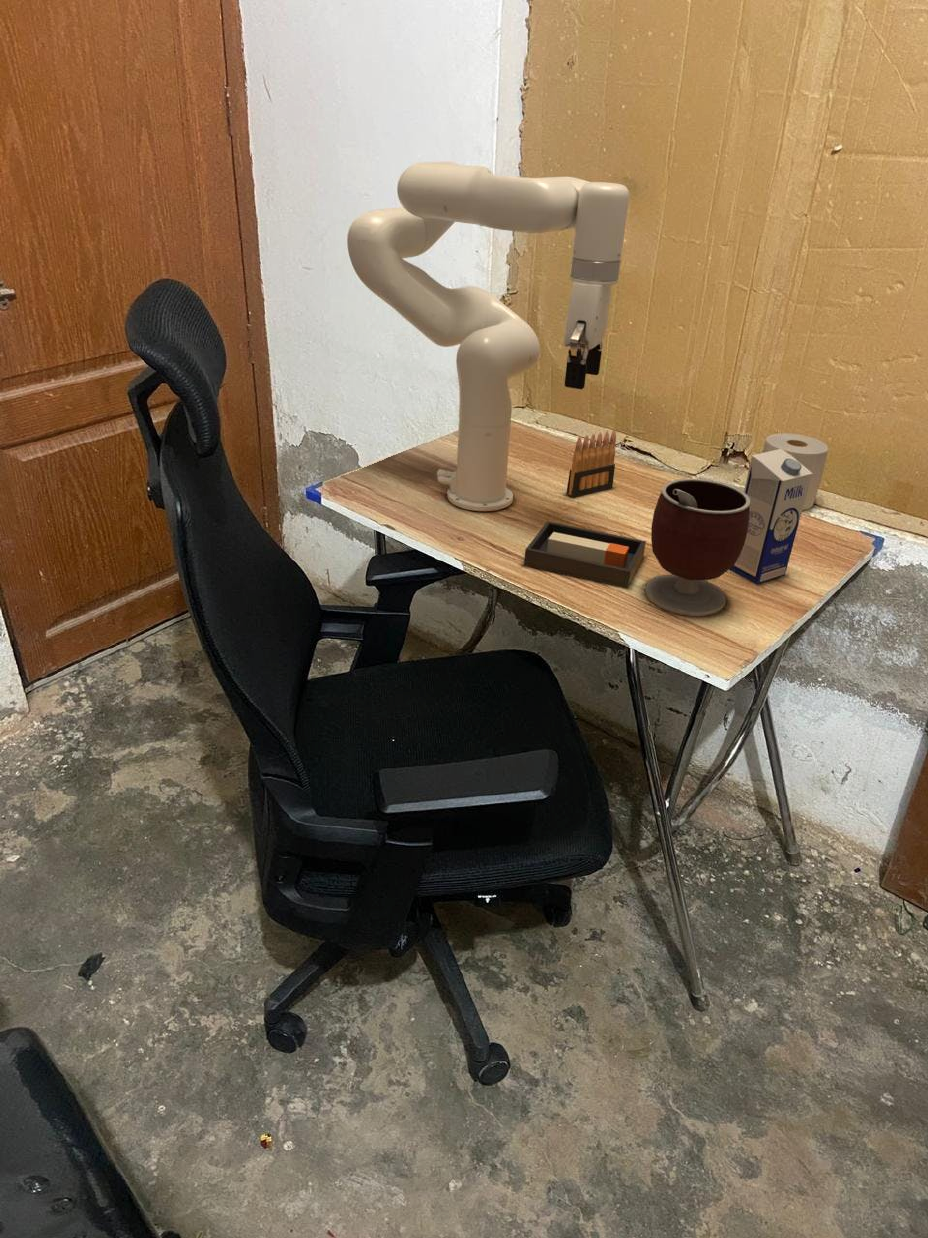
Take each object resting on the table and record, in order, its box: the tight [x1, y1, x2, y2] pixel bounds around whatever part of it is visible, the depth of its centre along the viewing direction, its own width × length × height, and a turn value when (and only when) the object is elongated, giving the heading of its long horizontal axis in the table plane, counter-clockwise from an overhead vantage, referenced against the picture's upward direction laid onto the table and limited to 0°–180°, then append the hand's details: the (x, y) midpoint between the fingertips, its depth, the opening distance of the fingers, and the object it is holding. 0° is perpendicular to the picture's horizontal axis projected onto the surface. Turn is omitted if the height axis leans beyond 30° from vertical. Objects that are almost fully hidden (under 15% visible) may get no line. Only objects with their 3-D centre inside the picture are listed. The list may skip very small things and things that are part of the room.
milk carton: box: [729, 449, 813, 585], centre depth 140 cm, size 7×7×20 cm
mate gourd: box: [645, 478, 750, 617], centre depth 130 cm, size 16×14×20 cm
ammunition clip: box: [566, 429, 617, 499], centre depth 169 cm, size 11×2×12 cm, turn 124°
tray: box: [523, 521, 647, 589], centre depth 144 cm, size 17×12×3 cm
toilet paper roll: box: [761, 432, 829, 511], centre depth 170 cm, size 12×12×12 cm
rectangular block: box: [547, 532, 629, 568], centre depth 144 cm, size 13×3×3 cm, turn 68°
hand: (581, 380), depth 144 cm, fingers open, 9 cm apart
